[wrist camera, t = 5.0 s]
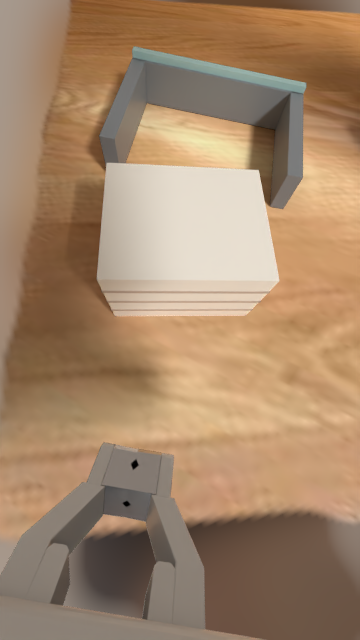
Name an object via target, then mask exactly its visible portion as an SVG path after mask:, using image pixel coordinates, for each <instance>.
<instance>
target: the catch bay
mask: <svg viewBox="0 0 360 640" xmlns="http://www.w3.org/2000/svg"><path fill="white" fill-rule="evenodd" d="M132 54H133V58H132V60H131V63H130V65H129V67H128V70H127V72H126V74H125V77H124V79H123V81H122V84H121V86H120V88H119V91H118V93H117V95H116V98H115V100H114V102H113V105H112V107H111V109H110V112H109V114H108V116H107V119H106V121H105V124H104V126H103V128H102V131H101V133H100V135H99V137H100V142H101V146H102V151H103V155H104V160H105V164H107V163H126V160H127V157H128V155H129V152H130V149H131V146H132V143H133V140H134V138H135V135H136V132H137V129H138V126H139V123H140V121H141V118H142V115H143V112H144V109H145V106H146V104H147V103H149V104H154V105H159V106H164V107H168V108H173V109H178V110H183V111H188V112H192V113H197V114H202V115H207V116H211V117H216V118H221V119H226V120H231V121H235V122H240V123H245V124H250V125H255V126H259V127H264V128H269V129H274V130H275V138H274V153H273V169H272V184H271V199H270V207H275V208H280V209H283V208H284V207H285V205H286V204H287V202H288V200H289V199H290V197H291V196H292V194H293V192H294V191H295V189H296V188H297V186H298V185H299V183H300V181H301V180H302V178H303V93H304V91H305V89H306V83H304V82H299V81H295V80H290V79H285V78H281V77H276V76H271V75H266V74H262V73H257V72H252V71H248V70H243V69H238V68H233V67H229V66H224V65H219V64H215V63H210V62H205V61H201V60H196V59H191V58H186V57H182V56H177V55H172V54H168V53H163V52H158V51H153V50H149V49H144V48H139V47H135V46H134V47H133V49H132Z"/></svg>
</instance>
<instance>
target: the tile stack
mask: <svg viewBox="0 0 360 640" xmlns="http://www.w3.org/2000/svg"><path fill="white" fill-rule="evenodd" d="M97 281H98V283H99V285H100V287H101V291H102V293H104V295H105V297H106V299H107V303H109V305H110V307H111V311H113V313H114V315H115V316H242V315H247V314H248V313H249V312H250V311H252V310H253V308H254V306H255V305H256V304H257V303H260V302H261V299H262V298H263V297H264V296H265V295H266V294H268V293H269V292H270V290H271V289H272V288H273V287H274V286H275V285H276V284H277V283H278V282H279V276H278V270H277V265H276V260H275V254H274V249H273V244H272V238H271V233H270V227H269V222H268V217H267V211H266V206H265V201H264V195H263V190H262V185H261V179H260V174H259V170H247V169H227V168H207V167H186V166H166V165H145V164H125V163H107V164H106V176H105V187H104V199H103V210H102V222H101V234H100V245H99V257H98V268H97Z"/></svg>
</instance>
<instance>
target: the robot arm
mask: <svg viewBox="0 0 360 640" xmlns="http://www.w3.org/2000/svg"><path fill="white" fill-rule="evenodd" d="M173 464H174V455H172V454H165V453H162V452H156V451H150V450H143V449H136V448H130V447H125V446H120V445H116V444H110V443H105V442H104V443H103V444H102V446H101V448H100V450H99V453H98V455H97V458H96V460H95V463H94V465H93V468H92V470H91V473H90V475H89V478H88V480H87V483H86V482H82V483H81V484H80V485H79V486H78V487H77V488H75V489H74V490H73V491H72V492H71V493H70V494H69V495H67V496H66V497H65V498H64V499H63V500H62V501H61V502H59V503H58V504H57V505H56V506H55V507H54V508H53V509H51V510H50V511H49V512H48V513H47V514H46V515H45V516H43V517H42V518H41V519H40V520H39V521H38V522H37V523H35V524H34V525H33V526H32V527H31V528H30V529H29V530H27V531H26V532H25V533H24V534H23V535H22V536H21V538H20V540H19V541H18V543H17V545H16V547H15V549H14V551H13V553H12V555H11V556H10V558H9V560H8V562H7V564H6V566H5V568H4V570H3V571H2V573H1V575H0V640H264V639H258V638H252V637H246V636H240V635H235V634H228V633H223V632H217V631H211V630H205V598H204V597H205V594H204V567H203V564H202V562H201V560H200V557H199V555H198V553H197V550H196V548H195V546H194V543H193V541H192V539H191V537H190V534H189V532H188V530H187V527H186V525H185V523H184V520H183V518H182V516H181V513H180V511H179V509H178V506H177V504H176V502H175V499H174V498H170V496H171V486H172V475H173ZM103 514H106V515H113V516H120V517H126V518H131V519H136V520H141V521H145V522H146V526H147V529H148V533H149V537H150V540H151V544H152V548H153V551H154V555H155V559H156V562H157V563H156V564H155V566H154V569H153V572H152V576H151V579H150V582H149V586H148V589H147V592H146V596H145V602H144V610H143V617H142V619H139V618H133V617H127V616H122V615H116V614H109V613H103V612H98V611H91V610H86V609H79V608H74V607H68V606H63V604H64V601H65V598H66V595H67V592H68V589H69V585H70V573H69V572H70V571H69V570H70V568H69V555H70V554H71V553H72V551H73V550H74V549H75V548H76V547H77V545H78V544H79V543H80V542H81V541H82V540H83V538H84V537H85V536H86V535H87V534H88V533H89V531H90V530H91V529H92V528H93V527H94V525H95V524H96V523H97V522H98V521H99V520H100V518H101V517H102V516H103Z"/></svg>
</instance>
